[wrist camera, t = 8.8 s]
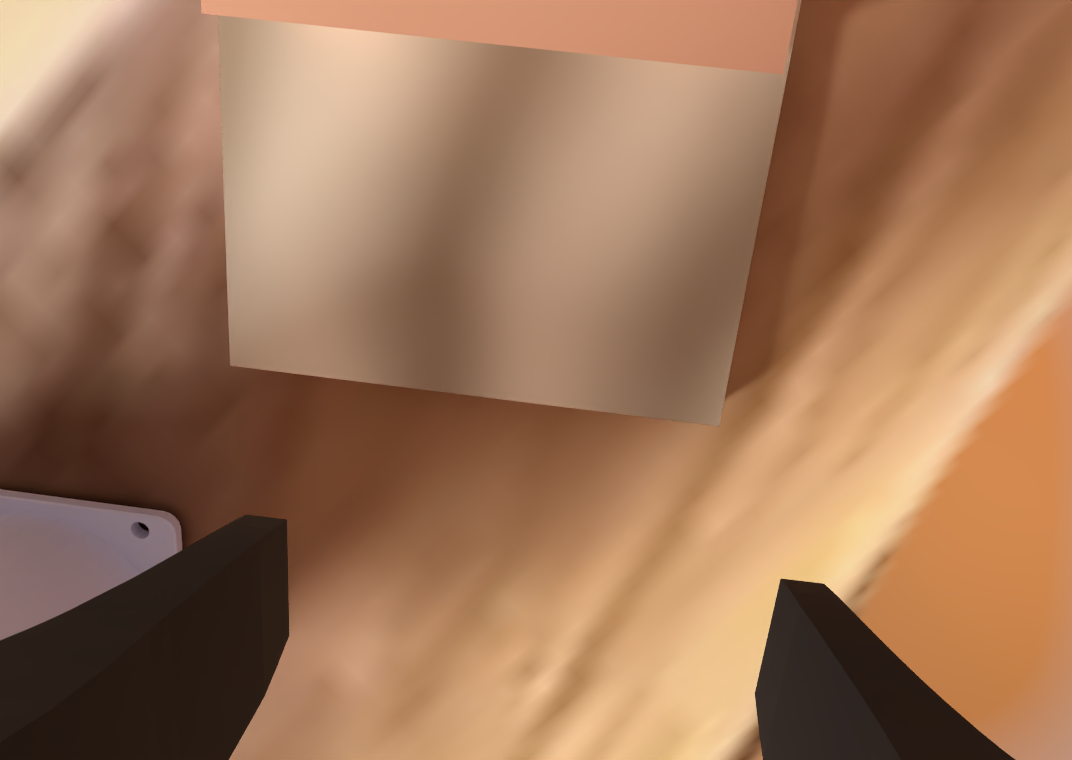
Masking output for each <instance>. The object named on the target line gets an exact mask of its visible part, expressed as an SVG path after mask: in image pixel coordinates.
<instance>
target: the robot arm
mask: <svg viewBox="0 0 1072 760" xmlns="http://www.w3.org/2000/svg"><path fill="white" fill-rule="evenodd" d="M138 522H141V523H143V524H145V525H146V526H147V527H148V529H149V531H146V530H143V529H142V528H141V527H140V526H139V523H138ZM288 637H289V603H288V555H287V520H285V519H276V518H268V517H260V516H251V515H245V516H243V517H241V518H239V519H237V520H235V521H233V522H231V523H229V524H227V525H225V526H224V527H222V528H220V529H218V530H216V531H215V532H213V533H211V534H209V535H208V536H206V537H204V538H202V539H201V540H199V541H197V542H195V543H194V544H192V545H190V546H188V547H187V548H185V549H183V550H182V535H181V526H180V523H179V521H178V520H177V519H176V517H175V516H173V515H172V514H170V513H168V512H165V511H161V510H153V509H146V508H138V507H130V506H123V505H115V504H108V503H100V502H93V501H85V500H78V499H70V498H63V497H55V496H47V495H40V494H32V493H25V492H17V491H10V490H2V489H0V760H229V758H230V756H231V755H232V753H233V751H234V749H235V748H236V746H237V744H238V742H239V741H240V739H241V737H242V735H243V734H244V732H245V730H246V728H247V726H248V725H249V723H250V721H251V719H252V718H253V716H254V714H255V712H256V710H257V709H258V707H259V705H260V703H261V701H262V700H263V698H264V696H265V694H266V691H267V689H268V686H269V684H270V682H271V679H272V677H273V675H274V672H275V670H276V667H277V665H278V662H279V660H280V657H281V655H282V652H283V650H284V647H285V644H286V642H287V639H288ZM755 698H756V707H757V716H758V725H759V733H760V741H761V748H762V756H763V760H1015V759H1014V758H1012V757H1011V756H1010V755H1008V754H1007V753H1006V752H1004V751H1003V750H1002V749H1000V748H999V747H998V746H997V745H996V744H994V743H993V742H992V741H991V740H989V739H988V738H987V737H986V736H984V735H983V734H982V733H981V732H979V731H978V730H977V729H976V728H975V727H974V726H973V725H972V724H970V723H969V722H968V721H967V720H966V719H965V718H964V717H962V716H961V715H960V714H959V713H958V712H957V711H955V710H954V709H953V708H952V707H951V706H950V705H949V704H947V703H946V702H945V701H944V700H943V699H942V698H941V697H940V696H939V695H937V694H936V693H935V692H934V691H933V690H932V689H931V688H930V687H929V686H928V685H926V684H925V683H924V682H923V681H922V680H921V679H920V678H919V677H918V676H917V675H916V674H915V673H914V672H913V671H912V670H910V668H909V667H907V665H906V664H904V663H903V662H902V661H901V660H900V659H899V658H898V657H897V656H896V655H895V654H894V653H893V652H892V651H891V650H890V649H889V648H888V647H887V646H886V645H885V644H884V643H883V642H882V641H881V640H880V639H879V638H878V637H877V636H876V635H875V634H874V633H873V632H872V631H871V630H870V629H869V628H868V627H867V626H866V625H865V624H864V623H863V622H862V621H861V620H860V619H859V618H858V617H857V616H856V614H855V613H854V612H853V611H852V610H851V609H850V608H849V607H848V606H847V605H846V604H845V603H844V602H843V601H842V600H841V599H840V598H839V597H838V596H837V595H835V594H834V593H833V592H832V591H831V590H830V589H829V588H828V587H827V586H826V585H825V584H821V583H813V582H804V581H796V580H787V579H781V580H780V584H779V589H778V593H777V598H776V602H775V607H774V611H773V615H772V620H771V624H770V629H769V633H768V638H767V642H766V647H765V651H764V656H763V660H762V664H761V669H760V673H759V678H758V682H757V687H756V691H755Z"/></svg>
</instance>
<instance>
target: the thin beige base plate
mask: <svg viewBox="0 0 1072 760" xmlns="http://www.w3.org/2000/svg"><path fill="white" fill-rule="evenodd" d="M801 2H802V0H798V2H797V7H796V12H795V17H794V22H793V28H792V33H791V38H790V43H789V49H788V54H787V59H786V64H785V69H784V75H783V74H773V73H764V72H754V71H744V70H735V69H725V68H716V67H706V66H697V65H687V64H678V63H668V62H659V61H649V60H640V59H630V58H621V57H611V56H602V55H592V54H582V53H573V52H563V51H554V50H544V49H535V48H525V47H516V46H506V45H497V44H487V43H478V42H468V41H459V40H449V39H440V38H430V37H421V36H411V35H402V34H392V33H383V32H373V31H363V30H354V29H344V28H335V27H325V26H316V25H306V24H297V23H287V22H278V21H268V20H259V19H249V18H240V17H231V16H221V15H218V36H219V65H220V93H221V122H222V151H223V179H224V208H225V236H226V265H227V294H228V322H229V351H230V366H236V367H245V368H253V369H261V370H269V371H277V372H285V373H293V374H301V375H309V376H317V377H325V378H333V379H341V380H349V381H357V382H365V383H373V384H381V385H389V386H397V387H406V388H414V389H422V390H430V391H438V392H446V393H454V394H462V395H470V396H478V397H486V398H494V399H502V400H510V401H518V402H526V403H534V404H542V405H550V406H558V407H567V408H575V409H583V410H591V411H599V412H607V413H615V414H623V415H631V416H639V417H647V418H655V419H663V420H671V421H679V422H687V423H695V424H703V425H711V426H719V425H720V420H721V415H722V410H723V404H724V399H725V394H726V389H727V384H728V379H729V373H730V368H731V363H732V358H733V353H734V348H735V342H736V337H737V332H738V327H739V322H740V317H741V311H742V306H743V301H744V296H745V291H746V286H747V280H748V275H749V270H750V265H751V260H752V255H753V249H754V244H755V239H756V234H757V229H758V224H759V218H760V213H761V208H762V203H763V198H764V193H765V187H766V182H767V177H768V172H769V167H770V162H771V156H772V151H773V146H774V141H775V136H776V131H777V125H778V120H779V115H780V110H781V105H782V100H783V95H784V89H785V84H786V79H787V74H788V69H789V64H790V58H791V53H792V48H793V43H794V38H795V33H796V27H797V22H798V17H799V12H800V7H801Z"/></svg>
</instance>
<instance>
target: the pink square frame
mask: <svg viewBox="0 0 1072 760" xmlns="http://www.w3.org/2000/svg"><path fill="white" fill-rule="evenodd" d="M797 2H798V0H201V9H202V14H212V15H221V16H231V17H240V18H249V19H259V20H268V21H278V22H287V23H297V24H306V25H316V26H325V27H335V28H344V29H354V30H363V31H373V32H383V33H392V34H402V35H411V36H421V37H430V38H440V39H449V40H459V41H468V42H478V43H487V44H497V45H506V46H516V47H525V48H535V49H544V50H554V51H563V52H573V53H582V54H592V55H602V56H611V57H621V58H630V59H640V60H649V61H659V62H668V63H678V64H687V65H697V66H706V67H716V68H725V69H735V70H744V71H754V72H764V73H773V74H783V75H784V69H785V64H786V59H787V54H788V49H789V43H790V38H791V33H792V28H793V22H794V17H795V12H796V7H797Z"/></svg>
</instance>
